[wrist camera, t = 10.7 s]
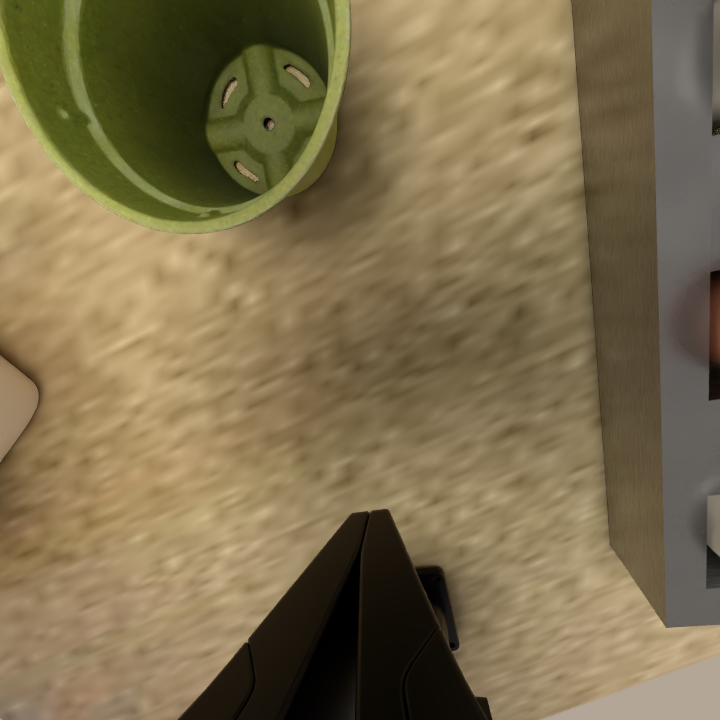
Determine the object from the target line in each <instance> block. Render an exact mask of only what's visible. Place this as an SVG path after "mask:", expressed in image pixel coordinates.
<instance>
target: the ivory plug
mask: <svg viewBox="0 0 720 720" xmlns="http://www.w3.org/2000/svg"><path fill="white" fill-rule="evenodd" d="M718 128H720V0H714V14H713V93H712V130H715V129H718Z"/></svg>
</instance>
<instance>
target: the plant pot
mask: <svg viewBox="0 0 720 720" xmlns="http://www.w3.org/2000/svg"><path fill="white" fill-rule="evenodd" d="M350 47H351V4H350V0H0V66H1V69H2V72H3V75H4V78H5V80H6V83H7V86H8V89H9V91H10V94H11V96H12V99H13V100H14V102H15V104H16V106H17V108H18V110H19V112H20V114H21V115H22V117H23V119H24V120H25V122H26V124H27V126H28V127H29V128H30V130H31V131H32V133H33V134H34V136H35V138H36V139H37V141H38V142H39V144H40V145H41V147H42V148H43V150H44V151H45V153H46V154H47V155H48V156H49V158H50V159H51V160H52V162H53V163H54V164H55V165H56V166H57V168H58V169H59V170H60V171H61V172H62V173H63V174H64V175H65V176H66V177H67V178H68V179H69V180H70V181H71V182H72V183H73V184H74V185H75V186H76V187H78V188H79V189H80V190H81V191H83V192H84V193H85V194H86V195H88V196H89V197H91V198H92V199H93V200H95V201H96V202H97V203H99V204H100V205H102V206H103V207H104V208H106V209H108V210H109V211H111V212H113V213H115V214H116V215H118V216H120V217H123V218H125V219H127V220H129V221H131V222H134V223H136V224H139V225H141V226H145V227H148V228H151V229H154V230H158V231H163V232H168V233H180V234H201V233H211V232H217V231H222V230H227V229H230V228H233V227H237V226H239V225H242V224H245V223H247V222H249V221H251V220H253V219H256V218H258V217H259V216H261V215H262V214H264V213H266V212H267V211H269V210H270V209H272V208H273V207H275V206H276V205H277V204H278V203H279V202H281V201H282V200H283V199H284V198H286V197H290V196H293V195H296V194H298V193H300V192H302V191H304V190H305V189H307V188H308V187H310V186H311V185H312V184H313V183H314V182H315V181H316V180H317V179H318V178H319V177H320V176H321V175H322V173H323V172H324V170H325V169H326V167H327V165H328V163H329V161H330V159H331V156H332V154H333V151H334V147H335V143H336V137H337V113H338V109H339V106H340V103H341V99H342V96H343V92H344V88H345V83H346V78H347V72H348V65H349V59H350ZM288 64H291V65H293V66H294V67H296V68H297V69H299V70H300V71H302V72H303V73H304V74H305V75H306V76H307V77H308V78H309V82H310V86H309V88H306V87H305V86H304V85H303V84H302V83H301V82H300V81H299V80H298V79H297V78H296V77H295V76H293V75H292V74H291V73H289V72H287V71H286V70H284V66H285V65H288ZM233 78H236V79H237V80H238V85H237V86H236V87H235V89H234V90H233V92H232V93H231V95H230V97H229V99H228V102H227V103H225V107H224V108H222V104H221V101H222V95H223V92H224V89H225V87H226V85H227V84H228V83H229V81H230V80H232V79H233ZM266 118H271V119H272V120H273V122H274V128H273V129H272V130H267V129H266V128H265V127H264V124H263V122H264V120H265V119H266ZM235 161H239V162H240V163H241V165H243V166H244V167H245V168H246V169H247V170H249V171H250V172H251V173H253V174H254V175H257V176H258V177H259V181H256V182H253V181H252V180H250V179H249V178H248V177H247V176H245V175H242V174H240V173H239V172H238V171H237V169H236V168H235V167H234V162H235Z"/></svg>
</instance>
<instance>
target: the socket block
mask: <svg viewBox="0 0 720 720" xmlns="http://www.w3.org/2000/svg"><path fill="white" fill-rule="evenodd" d="M572 9H573V23H574V38H575V52H576V66H577V80H578V94H579V108H580V123H581V137H582V151H583V165H584V179H585V193H586V208H587V222H588V236H589V250H590V264H591V278H592V292H593V307H594V321H595V335H596V349H597V363H598V377H599V392H600V406H601V420H602V434H603V448H604V462H605V477H606V491H607V505H608V519H609V533H610V545H611V547H612V548H613V550H614V551H615V552H616V554H617V555H618V557H619V558H620V560H621V561H622V563H623V564H624V566H625V567H626V569H627V570H628V572H629V573H630V575H631V576H632V578H633V579H634V581H635V582H636V584H637V585H638V587H639V588H640V590H641V591H642V592H643V594H644V595H645V597H646V598H647V600H648V601H649V603H650V604H651V606H652V607H653V609H654V610H655V612H656V613H657V615H658V616H659V618H660V619H661V621H662V622H663V624H664V625H665V627H666V628H670V627H687V626H703V625H719V624H720V557H719V556H718V555H717V554H716V553H715V552H714V551H713V550H712V549H711V548H710V547H709V546H708V545H707V496H712V495H720V364H717V363H715V362H712V361H710V360H709V328H710V272H712V271H717V270H720V134H718V135H714V136H712V93H713V14H714V0H572Z"/></svg>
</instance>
